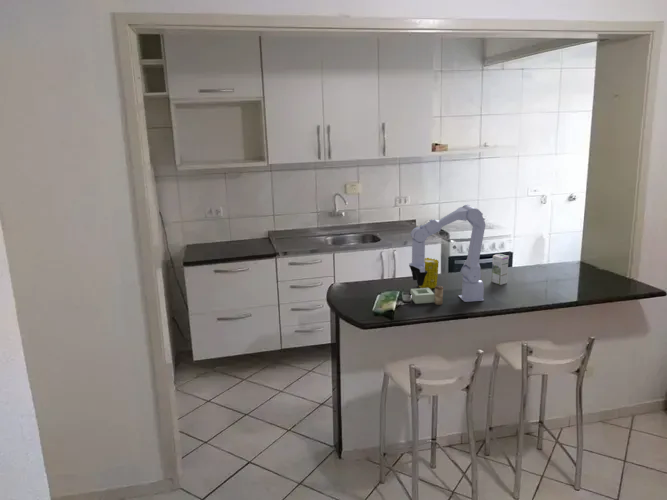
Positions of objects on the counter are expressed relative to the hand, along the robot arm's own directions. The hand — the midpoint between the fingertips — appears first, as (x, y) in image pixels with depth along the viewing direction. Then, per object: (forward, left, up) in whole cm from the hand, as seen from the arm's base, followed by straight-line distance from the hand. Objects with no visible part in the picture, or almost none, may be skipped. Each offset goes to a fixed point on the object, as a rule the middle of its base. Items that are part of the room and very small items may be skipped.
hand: (417, 282), depth 242 cm
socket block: (-3, -4, -10) cm, 11 cm away
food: (-11, -21, -10) cm, 26 cm away
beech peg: (-9, +2, -10) cm, 14 cm away
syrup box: (-48, -20, -10) cm, 53 cm away
